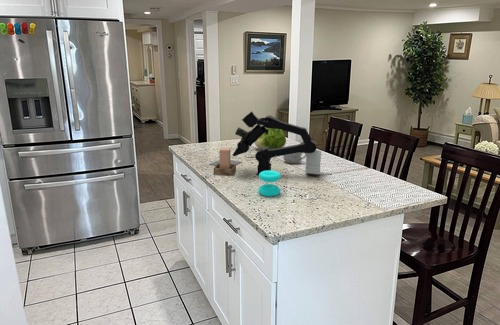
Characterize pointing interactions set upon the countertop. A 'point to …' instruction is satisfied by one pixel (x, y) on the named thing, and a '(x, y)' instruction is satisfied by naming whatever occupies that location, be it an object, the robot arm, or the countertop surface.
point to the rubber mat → (230, 162)
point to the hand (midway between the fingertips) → (234, 153)
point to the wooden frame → (225, 170)
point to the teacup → (293, 157)
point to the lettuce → (271, 139)
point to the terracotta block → (224, 158)
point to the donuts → (269, 188)
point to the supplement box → (313, 162)
